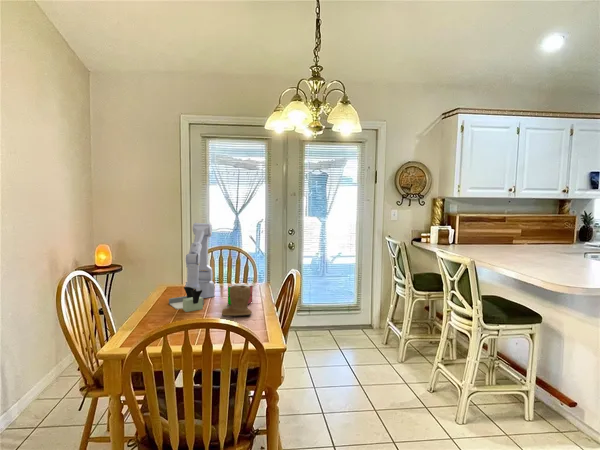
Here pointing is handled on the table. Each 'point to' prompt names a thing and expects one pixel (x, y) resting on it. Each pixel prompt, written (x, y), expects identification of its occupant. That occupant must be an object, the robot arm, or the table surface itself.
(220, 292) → the table surface
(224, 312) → the brown boot
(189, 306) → the green block
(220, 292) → the table surface
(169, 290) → the table surface
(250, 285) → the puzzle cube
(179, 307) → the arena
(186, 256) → the robot arm
